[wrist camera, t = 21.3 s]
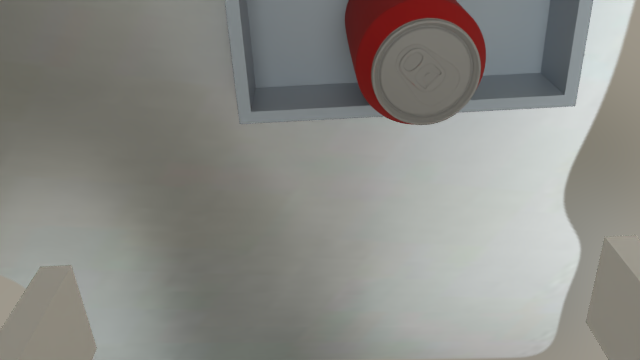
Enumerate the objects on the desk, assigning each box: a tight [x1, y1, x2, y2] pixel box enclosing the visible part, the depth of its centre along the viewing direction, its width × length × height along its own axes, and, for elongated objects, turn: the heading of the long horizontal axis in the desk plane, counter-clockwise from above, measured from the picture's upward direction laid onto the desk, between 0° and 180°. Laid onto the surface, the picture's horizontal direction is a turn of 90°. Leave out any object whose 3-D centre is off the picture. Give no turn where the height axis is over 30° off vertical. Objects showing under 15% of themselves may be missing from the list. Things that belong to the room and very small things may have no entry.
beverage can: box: [345, 0, 486, 125], centre depth 34 cm, size 7×7×12 cm
